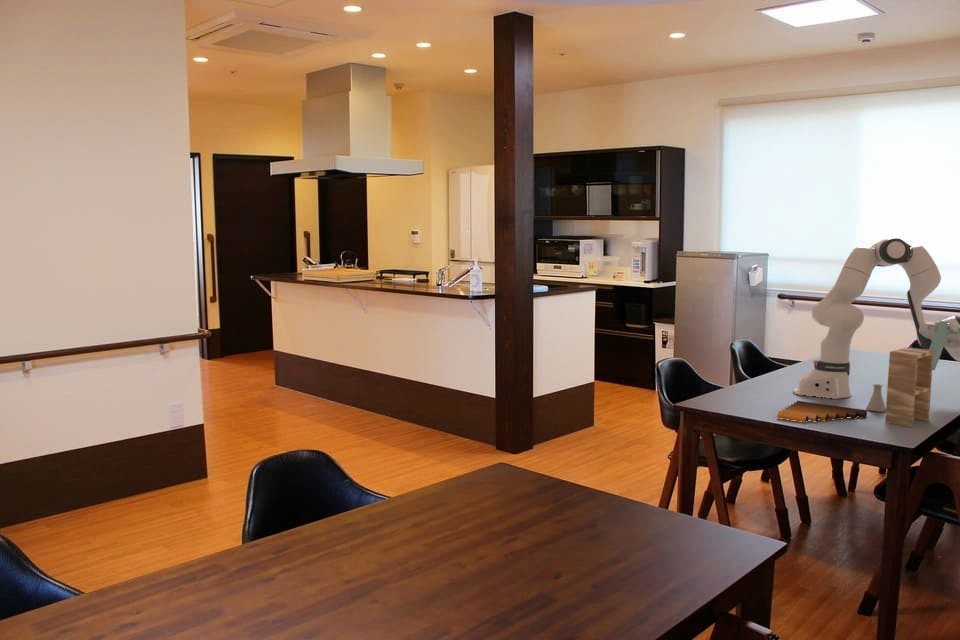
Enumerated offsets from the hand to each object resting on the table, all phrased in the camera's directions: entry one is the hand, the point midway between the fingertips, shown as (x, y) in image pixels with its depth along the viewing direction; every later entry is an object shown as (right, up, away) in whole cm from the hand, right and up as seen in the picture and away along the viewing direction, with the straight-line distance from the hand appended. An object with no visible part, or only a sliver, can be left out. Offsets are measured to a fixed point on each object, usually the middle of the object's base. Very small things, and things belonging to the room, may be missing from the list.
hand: (942, 324), depth 301 cm
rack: (-20, -35, -12) cm, 43 cm away
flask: (-23, -33, +4) cm, 41 cm away
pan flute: (-49, -35, -7) cm, 61 cm away
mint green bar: (-2, -9, -1) cm, 9 cm away
